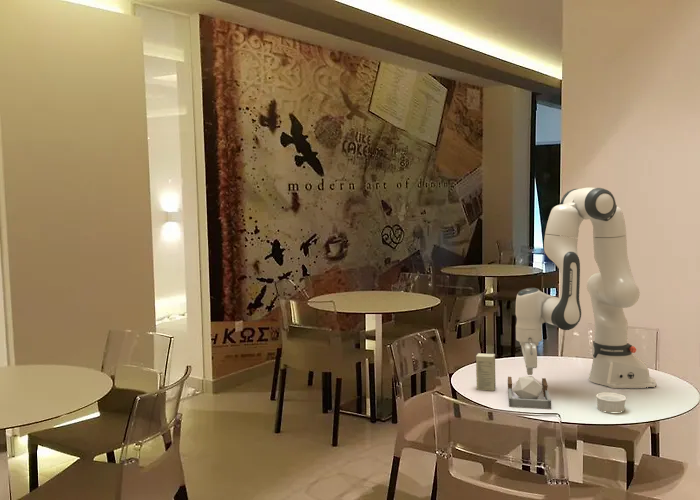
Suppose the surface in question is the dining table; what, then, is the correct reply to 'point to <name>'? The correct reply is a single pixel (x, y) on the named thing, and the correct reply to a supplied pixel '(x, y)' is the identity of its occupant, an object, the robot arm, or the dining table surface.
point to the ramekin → (611, 402)
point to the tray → (529, 401)
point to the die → (527, 388)
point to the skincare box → (485, 371)
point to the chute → (544, 384)
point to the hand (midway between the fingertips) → (529, 373)
